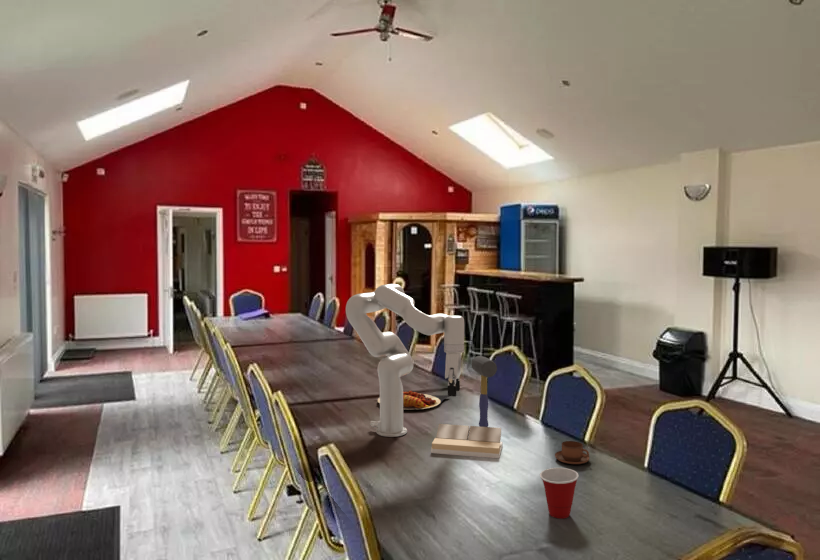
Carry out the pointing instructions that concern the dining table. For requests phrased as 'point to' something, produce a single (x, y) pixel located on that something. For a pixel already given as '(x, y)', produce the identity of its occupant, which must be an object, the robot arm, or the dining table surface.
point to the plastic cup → (559, 490)
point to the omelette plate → (420, 400)
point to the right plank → (484, 434)
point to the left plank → (453, 432)
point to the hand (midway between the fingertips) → (453, 393)
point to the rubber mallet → (484, 384)
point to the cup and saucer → (572, 453)
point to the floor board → (466, 448)
